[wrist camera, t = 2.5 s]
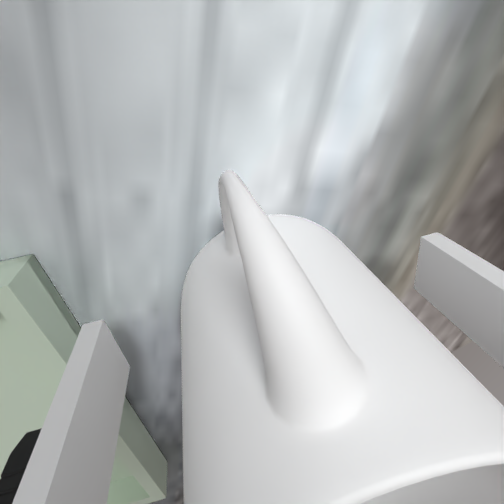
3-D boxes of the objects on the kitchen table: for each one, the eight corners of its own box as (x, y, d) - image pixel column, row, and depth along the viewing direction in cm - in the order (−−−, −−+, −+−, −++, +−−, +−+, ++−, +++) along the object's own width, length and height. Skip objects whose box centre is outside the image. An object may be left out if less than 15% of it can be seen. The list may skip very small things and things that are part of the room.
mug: (316, 99, 12) (775, 182, 3) (351, 312, 18) (523, 547, 9) (106, 176, 12) (-142, 538, 3) (216, 364, 18) (256, 657, 9)
